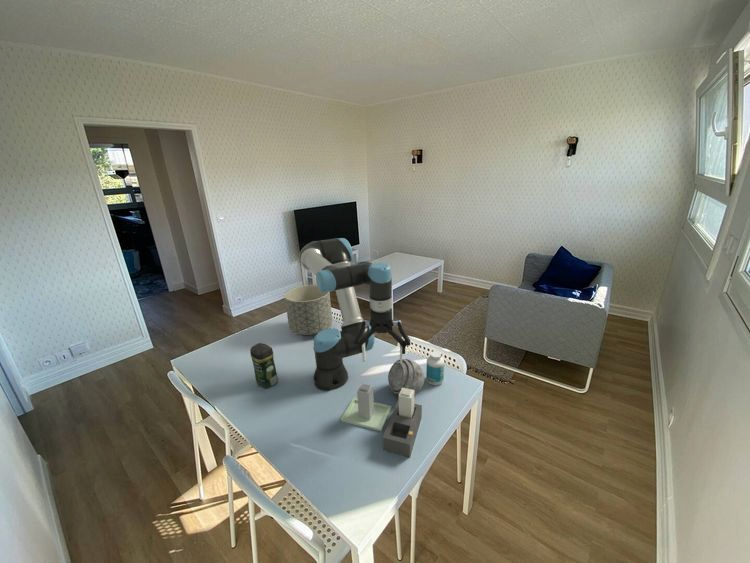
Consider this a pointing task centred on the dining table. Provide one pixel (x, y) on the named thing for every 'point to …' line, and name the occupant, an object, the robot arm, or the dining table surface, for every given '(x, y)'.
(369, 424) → the tray
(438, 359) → the pill bottle
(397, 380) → the decorative orb
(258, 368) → the coffee jar
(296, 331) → the planter
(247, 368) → the dining table surface
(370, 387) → the plug
